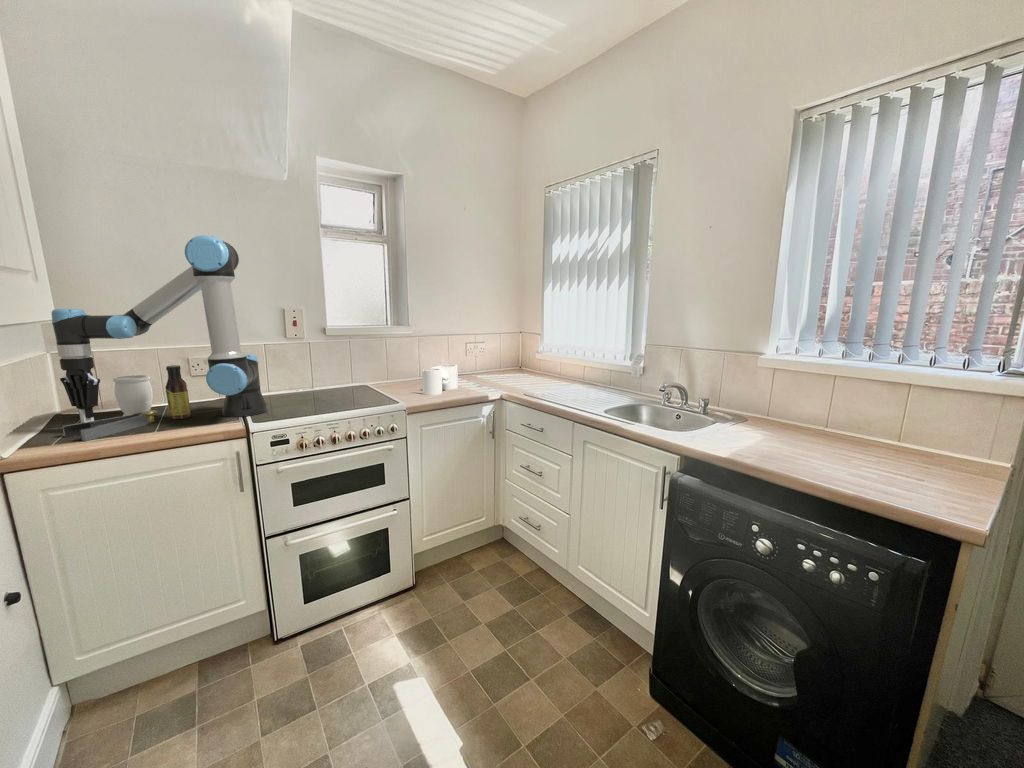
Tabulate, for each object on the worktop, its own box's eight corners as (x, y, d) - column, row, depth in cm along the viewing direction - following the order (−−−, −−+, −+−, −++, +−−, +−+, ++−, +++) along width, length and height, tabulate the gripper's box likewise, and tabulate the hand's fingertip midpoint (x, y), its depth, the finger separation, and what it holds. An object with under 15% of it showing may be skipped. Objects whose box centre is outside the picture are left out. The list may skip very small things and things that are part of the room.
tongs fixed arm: (151, 421, 151) (149, 411, 150) (157, 421, 150) (156, 412, 150) (78, 440, 129) (76, 429, 128) (85, 441, 128) (83, 430, 128)
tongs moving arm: (155, 420, 152) (154, 409, 152) (159, 421, 150) (158, 411, 149) (64, 436, 133) (61, 424, 132) (67, 438, 131) (65, 426, 130)
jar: (163, 413, 162) (157, 375, 159) (137, 420, 152) (130, 380, 149) (138, 412, 163) (132, 374, 160) (111, 419, 153) (104, 379, 150)
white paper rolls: (437, 396, 198) (437, 371, 196) (420, 394, 201) (419, 370, 199) (461, 387, 221) (461, 364, 219) (445, 385, 224) (444, 363, 222)
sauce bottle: (173, 416, 157) (166, 364, 154) (193, 415, 160) (186, 364, 156) (167, 420, 151) (159, 367, 148) (187, 419, 154) (180, 366, 150)
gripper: (105, 356, 136) (117, 425, 141) (73, 355, 138) (86, 422, 143) (78, 359, 129) (91, 431, 133) (45, 357, 131) (59, 429, 136)
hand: (88, 427), depth 138 cm, fingers closed
